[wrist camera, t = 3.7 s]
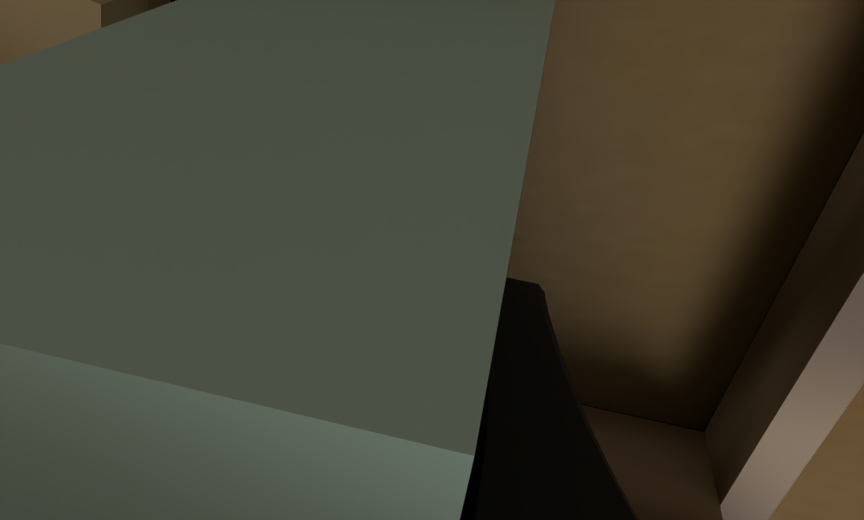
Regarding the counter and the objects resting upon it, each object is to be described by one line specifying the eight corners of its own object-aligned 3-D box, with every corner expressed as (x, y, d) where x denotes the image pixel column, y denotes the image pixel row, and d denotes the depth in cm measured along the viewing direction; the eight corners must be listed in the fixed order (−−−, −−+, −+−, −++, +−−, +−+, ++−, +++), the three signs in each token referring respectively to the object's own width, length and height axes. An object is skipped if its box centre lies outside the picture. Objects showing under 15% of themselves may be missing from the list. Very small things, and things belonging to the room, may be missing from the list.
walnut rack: (731, 468, 15) (761, 589, 13) (83, 322, 17) (-2, 404, 14) (1073, -100, 8) (1280, -78, 6) (-72, -248, 10) (-283, -280, 8)
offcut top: (136, 295, 14) (102, 330, 13) (6, 247, 14) (-39, 278, 13) (148, -11, 10) (100, 4, 9) (-32, -80, 10) (-100, -72, 9)
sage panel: (471, 396, 14) (350, 994, 7) (343, 367, 14) (93, 909, 7) (561, -38, 9) (473, 454, 2) (362, -68, 9) (-456, 234, 2)
